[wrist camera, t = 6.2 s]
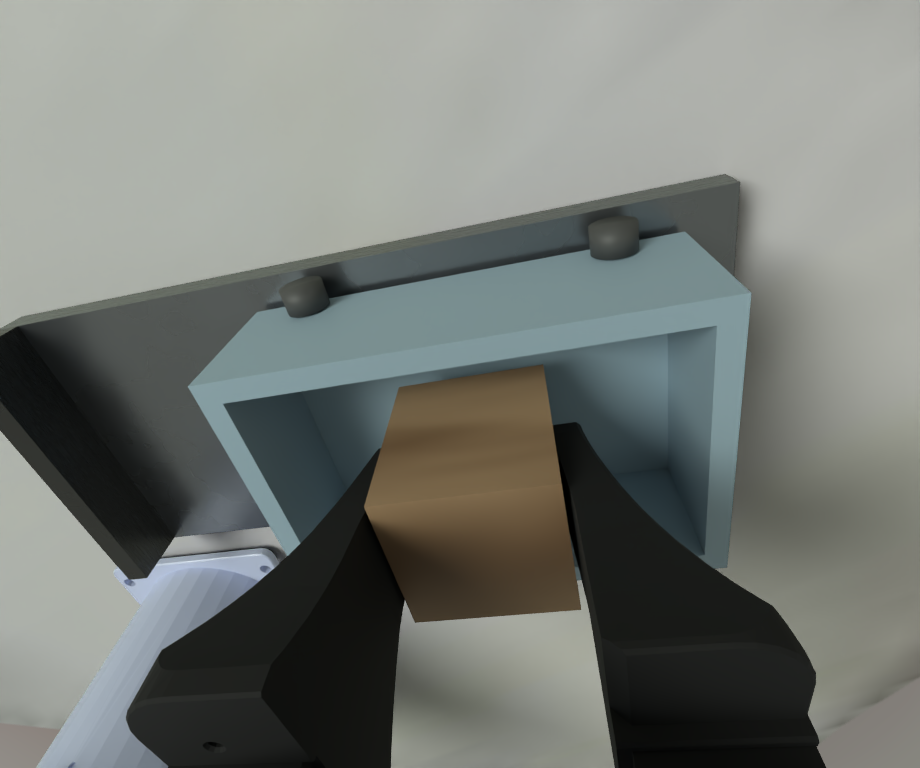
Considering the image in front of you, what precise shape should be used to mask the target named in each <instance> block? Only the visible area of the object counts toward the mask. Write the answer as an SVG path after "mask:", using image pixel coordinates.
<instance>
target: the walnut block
mask: <svg viewBox="0 0 920 768" xmlns="http://www.w3.org/2000/svg"><path fill="white" fill-rule="evenodd" d="M364 508H365V511H366V513H367V515H368V517H369V520H370V522H371V524H372V526H373V529H374V531H375V533H376V535H377V538H378V540H379V542H380V544H381V547H382V549H383V551H384V553H385V556H386V558H387V560H388V562H389V565H390V567H391V569H392V571H393V574H394V576H395V578H396V580H397V583H398V585H399V587H400V589H401V592H402V594H403V596H404V599H405V601H406V603H407V605H408V608H409V610H410V612H411V614H412V617H413V619H414V621H415V623H416V622H429V621H442V620H455V619H468V618H480V617H493V616H506V615H519V614H532V613H545V612H558V611H570V610H581V605H580V598H579V592H578V585H577V579H576V572H575V566H574V560H573V553H572V547H571V540H570V534H569V527H568V521H567V515H566V508H565V502H564V495H563V489H562V482H561V476H560V470H559V463H558V457H557V450H556V444H555V437H554V431H553V424H552V418H551V411H550V405H549V398H548V392H547V385H546V379H545V373H544V366H543V364H542V365H536V366H530V367H523V368H517V369H511V370H504V371H498V372H492V373H485V374H479V375H473V376H466V377H460V378H453V379H447V380H441V381H434V382H428V383H422V384H415V385H409V386H403V387H399V389H398V392H397V396H396V399H395V402H394V406H393V409H392V413H391V416H390V420H389V423H388V426H387V430H386V433H385V437H384V440H383V443H382V447H381V450H380V454H379V457H378V461H377V464H376V467H375V471H374V474H373V478H372V481H371V485H370V488H369V491H368V495H367V498H366V502H365V505H364Z"/></svg>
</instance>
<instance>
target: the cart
mask: <svg viewBox="0 0 920 768" xmlns="http://www.w3.org/2000/svg"><path fill="white" fill-rule="evenodd" d="M588 232H589V244H590V249H589V250H584V251H579V252H573V253H568V254H563V255H557V256H552V257H547V258H542V259H536V260H531V261H526V262H520V263H515V264H510V265H504V266H499V267H494V268H488V269H483V270H478V271H472V272H467V273H462V274H456V275H451V276H446V277H440V278H435V279H430V280H425V281H419V282H414V283H409V284H403V285H398V286H393V287H387V288H382V289H377V290H371V291H366V292H361V293H355V294H350V295H345V296H339V297H334V298H329V297H328V295H327V292H326V289H325V287H324V284H323V281H322V279H321V277H319V276H309V277H304V278H300V279H297V280H294V281H292V282H289V283H287V284H286V285H284V286H282V287H281V288H280V289H279V294H280V296H281V298H282V301H283V303H284V305H285V307H281V308H276V309H270V310H265V311H260V312H257V313H256V314H255V315H254V316H253V317H252V318H251V319H250V320H249V321H248V322H247V323H246V324H245V325H244V326H243V328H242V329H241V330H240V331H239V332H238V333H237V334H236V335H235V336H234V337H233V338H232V339H231V340H230V342H229V343H228V344H227V345H226V346H225V347H224V348H223V349H222V350H221V351H220V352H219V353H218V354H217V356H216V357H215V358H214V359H213V360H212V361H211V362H210V363H209V364H208V365H207V366H206V367H205V368H204V370H203V371H202V372H201V373H200V374H199V375H198V376H197V377H196V378H195V379H194V380H193V381H192V382H191V384H190V385H189V386H188V388H189V390H190V391H191V393H192V395H193V396H194V398H195V400H196V402H197V403H198V405H199V407H200V408H201V410H202V412H203V413H204V415H205V417H206V419H207V420H208V422H209V424H210V425H211V427H212V429H213V430H214V432H215V434H216V436H217V437H218V439H219V441H220V442H221V444H222V446H223V447H224V449H225V451H226V453H227V454H228V456H229V458H230V459H231V461H232V463H233V464H234V466H235V468H236V470H237V471H238V473H239V475H240V476H241V478H242V480H243V481H244V483H245V485H246V487H247V488H248V490H249V492H250V493H251V495H252V497H253V498H254V500H255V502H256V504H257V505H258V507H259V509H260V510H261V512H262V514H263V515H264V517H265V519H266V521H267V522H268V524H269V526H270V527H271V529H272V531H273V532H274V534H275V536H276V538H277V539H278V541H279V543H280V544H281V546H282V548H283V549H284V551H285V553H286V555H287V556H288V555H289V554H290V553H291V552H292V551H293V550H294V549H295V548H296V547H297V546H298V545H300V543H301V542H302V541H303V540H304V539H305V538H306V537H307V536H308V535H309V534H310V533H311V532H312V531H313V530H314V529H315V528H316V526H317V525H318V524H319V523H320V522H321V521H322V519H323V518H324V517H325V516H326V515H327V514H328V512H329V511H330V510H331V509H332V508H333V507H334V506H335V504H336V503H337V502H338V501H339V499H340V498H341V497H342V496H343V494H344V493H345V492H346V490H347V489H348V488H349V487H350V485H351V484H352V483H353V481H354V480H355V479H356V477H357V476H358V475H359V474H360V472H361V471H362V470H363V468H364V467H365V466H366V464H367V463H368V462H369V460H370V459H371V458H372V456H373V455H374V454H375V452H376V451H377V450H378V449H379V448H381V447H382V443H383V440H384V437H385V433H386V430H387V426H388V423H389V420H390V416H391V413H392V409H393V406H394V402H395V399H396V396H397V392H398V389H399V387H403V386H409V385H415V384H422V383H428V382H434V381H441V380H447V379H453V378H460V377H466V376H473V375H479V374H485V373H492V372H498V371H504V370H511V369H517V368H523V367H530V366H536V365H542V364H543V366H544V373H545V379H546V385H547V392H548V398H549V405H550V411H551V418H552V424H553V425H557V424H564V423H572V422H577V423H578V424H580V425H581V428H582V430H583V432H584V434H585V436H586V437H587V439H588V441H589V443H590V444H591V446H592V447H593V449H594V450H595V452H596V453H597V455H598V456H599V458H600V459H601V461H602V462H603V463H604V465H605V466H606V467H607V468H608V470H609V471H610V472H611V474H612V475H613V476H614V477H615V479H616V480H617V481H618V482H619V483H620V485H621V486H622V487H623V488H624V489H625V490H626V492H627V493H628V494H629V495H630V496H631V497H632V498H633V499H634V500H635V501H636V502H637V504H638V505H639V506H640V507H641V508H642V509H643V510H644V511H645V512H646V513H647V514H648V515H649V516H650V517H652V518H653V519H654V520H655V521H656V522H657V523H658V524H659V525H660V526H661V527H662V528H663V529H665V530H666V531H667V532H668V533H669V534H670V535H671V536H672V537H674V538H675V539H676V540H677V541H678V542H680V543H681V544H682V545H684V546H685V547H686V548H687V549H689V550H690V551H691V552H693V553H694V554H695V555H696V556H698V557H699V558H700V559H702V560H703V561H704V562H705V563H707V564H708V565H709V566H711V567H712V568H714V569H715V568H726V567H727V563H728V552H729V540H730V529H731V518H732V507H733V495H734V484H735V473H736V461H737V450H738V439H739V427H740V416H741V405H742V394H743V382H744V371H745V360H746V348H747V337H748V326H749V314H750V303H751V292H750V291H749V290H748V289H747V288H746V287H745V286H743V285H742V284H741V283H740V282H739V281H738V280H737V279H736V278H735V277H734V276H733V275H732V274H730V273H729V272H728V271H727V270H726V269H725V268H724V267H723V266H722V265H721V264H720V263H719V262H717V261H716V260H715V259H714V258H713V257H712V256H711V255H710V254H709V253H708V252H707V251H706V250H704V249H703V248H702V247H701V246H700V245H699V244H698V243H697V242H696V241H695V240H694V239H693V238H691V237H690V236H689V235H688V234H687V233H686V232H680V233H674V234H669V235H664V236H658V237H653V238H648V239H643V240H639V221H638V219H637V218H636V217H632V216H614V217H608V218H604V219H600V220H597V221H595V222H593V223H591V224H590V225H589V226H588ZM569 534H570V533H569ZM570 540H571V537H570ZM571 547H572V553H573V560H574V566H575V572H576V579H577V580H582V579H581V575H580V571H579V568H578V564H577V560H576V556H575V552H574V548H573V545H572V541H571Z"/></svg>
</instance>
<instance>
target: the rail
mask: <svg viewBox="0 0 920 768" xmlns="http://www.w3.org/2000/svg"><path fill="white" fill-rule="evenodd" d="M739 191H740V182H739V181H737V180H735V179H734V178H732V177H730V176H728V175H726V174H723V175H719V176H714V177H709V178H704V179H699V180H694V181H689V182H684V183H679V184H674V185H669V186H664V187H659V188H654V189H650V190H645V191H640V192H635V193H630V194H625V195H620V196H615V197H610V198H605V199H600V200H595V201H590V202H585V203H581V204H576V205H571V206H566V207H561V208H556V209H551V210H546V211H541V212H536V213H531V214H526V215H521V216H516V217H512V218H507V219H502V220H497V221H492V222H487V223H482V224H477V225H472V226H467V227H462V228H457V229H452V230H447V231H443V232H438V233H433V234H428V235H423V236H418V237H413V238H408V239H403V240H398V241H393V242H388V243H383V244H378V245H374V246H369V247H364V248H359V249H354V250H349V251H344V252H339V253H334V254H329V255H324V256H319V257H314V258H309V259H305V260H300V261H295V262H290V263H285V264H280V265H275V266H270V267H265V268H260V269H255V270H250V271H245V272H240V273H236V274H231V275H226V276H221V277H216V278H211V279H206V280H201V281H196V282H191V283H186V284H181V285H176V286H171V287H167V288H162V289H157V290H152V291H147V292H142V293H137V294H132V295H127V296H122V297H117V298H112V299H107V300H102V301H98V302H93V303H88V304H83V305H78V306H73V307H68V308H63V309H58V310H53V311H48V312H43V313H38V314H33V315H29V316H24V317H20V318H19V319H17V320H15V321H13V322H11V323H9V324H8V325H6V326H4V327H2V328H0V431H1V432H2V433H3V434H4V435H5V436H6V438H7V439H8V440H9V441H10V442H11V443H12V445H13V446H14V447H15V448H16V449H17V450H18V452H19V453H20V454H21V455H22V456H23V457H24V458H25V460H26V461H27V462H28V463H29V464H30V465H31V467H32V468H33V469H34V470H35V471H36V472H37V474H38V475H39V476H40V477H41V478H42V479H43V481H44V482H45V483H46V484H47V485H48V486H49V487H50V489H51V490H52V491H53V492H54V493H55V494H56V496H57V497H58V498H59V499H60V500H61V501H62V503H63V504H64V505H65V506H66V507H67V508H68V510H69V511H70V512H71V513H72V514H73V515H74V516H75V518H76V519H77V520H78V521H79V522H80V523H81V525H82V526H83V527H84V528H85V529H86V530H87V532H88V533H89V534H90V535H91V536H92V537H93V539H94V540H95V541H96V542H97V543H98V544H99V545H100V547H101V548H102V549H103V550H104V551H105V552H106V554H107V555H108V556H109V557H110V558H111V559H112V561H113V562H114V563H115V564H116V565H117V566H118V567H119V569H120V570H121V571H122V572H123V573H124V574H125V576H126V577H127V578H128V579H129V580H133V579H143V578H148V576H149V575H150V573H151V572H152V570H153V569H154V567H155V566H156V564H157V563H158V561H159V560H160V558H161V557H162V555H163V554H164V552H165V551H166V549H167V548H168V546H169V545H170V543H171V542H172V540H173V539H174V537H182V536H190V535H199V534H208V533H217V532H226V531H235V530H243V529H252V528H261V527H270V526H269V524H268V522H267V521H266V519H265V517H264V515H263V514H262V512H261V510H260V509H259V507H258V505H257V504H256V502H255V500H254V498H253V497H252V495H251V493H250V492H249V490H248V488H247V487H246V485H245V483H244V481H243V480H242V478H241V476H240V475H239V473H238V471H237V470H236V468H235V466H234V464H233V463H232V461H231V459H230V458H229V456H228V454H227V453H226V451H225V449H224V447H223V446H222V444H221V442H220V441H219V439H218V437H217V436H216V434H215V432H214V430H213V429H212V427H211V425H210V424H209V422H208V420H207V419H206V417H205V415H204V413H203V412H202V410H201V408H200V407H199V405H198V403H197V402H196V400H195V398H194V396H193V395H192V393H191V391H190V390H189V388H188V386H189V385H190V384H191V382H192V381H193V380H194V379H195V378H196V377H197V376H198V375H199V374H200V373H201V372H202V371H203V370H204V368H205V367H206V366H207V365H208V364H209V363H210V362H211V361H212V360H213V359H214V358H215V357H216V356H217V354H218V353H219V352H220V351H221V350H222V349H223V348H224V347H225V346H226V345H227V344H228V343H229V342H230V340H231V339H232V338H233V337H234V336H235V335H236V334H237V333H238V332H239V331H240V330H241V329H242V328H243V326H244V325H245V324H246V323H247V322H248V321H249V320H250V319H251V318H252V317H253V316H254V315H255V314H256V313H257V312H260V311H265V310H270V309H276V308H281V307H285V305H284V303H283V301H282V298H281V296H280V294H279V289H280V288H281V287H282V286H284V285H286V284H287V283H289V282H292V281H294V280H297V279H300V278H304V277H309V276H319V277H321V279H322V281H323V284H324V287H325V289H326V292H327V295H328V297H329V298H334V297H339V296H345V295H350V294H355V293H361V292H366V291H371V290H377V289H382V288H387V287H393V286H398V285H403V284H409V283H414V282H419V281H425V280H430V279H435V278H440V277H446V276H451V275H456V274H462V273H467V272H472V271H478V270H483V269H488V268H494V267H499V266H504V265H510V264H515V263H520V262H526V261H531V260H536V259H542V258H547V257H552V256H557V255H563V254H568V253H573V252H579V251H584V250H589V249H590V244H589V232H588V226H589V225H590V224H591V223H593V222H595V221H597V220H600V219H604V218H608V217H614V216H632V217H636V218H637V219H638V221H639V240H643V239H648V238H653V237H658V236H664V235H669V234H674V233H680V232H686V233H687V234H688V235H689V236H690V237H691V238H693V239H694V240H695V241H696V242H697V243H698V244H699V245H700V246H701V247H702V248H703V249H704V250H706V251H707V252H708V253H709V254H710V255H711V256H712V257H713V258H714V259H715V260H716V261H717V262H719V263H720V264H721V265H722V266H723V267H724V268H725V269H726V270H727V271H728V272H729V273H730V274H732V275H733V276H734V265H735V250H736V235H737V220H738V206H739Z"/></svg>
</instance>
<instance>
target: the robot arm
mask: <svg viewBox="0 0 920 768" xmlns="http://www.w3.org/2000/svg"><path fill="white" fill-rule="evenodd" d="M553 431H554V437H555V444H556V450H557V457H558V463H559V470H560V476H561V482H562V489H563V495H564V502H565V508H566V515H567V521H568V527H569V533H570V537H571V541H572V545H573V548H574V552H575V556H576V560H577V564H578V568H579V571H580V575H581V579H582V583H583V587H584V591H585V595H586V599H587V603H588V608H589V613H590V618H591V624H592V630H593V636H594V642H595V648H596V654H597V661H598V667H599V673H600V679H601V685H602V691H603V697H604V703H605V709H606V715H607V722H608V728H609V734H610V740H611V746H612V752H613V758H614V765H615V768H826V766H825V764H824V762H823V760H822V758H821V756H820V753H819V751H818V749H817V747H816V746H818V744H819V739H818V735H817V733H816V731H815V729H814V727H813V725H812V723H811V721H810V719H809V716H808V710H809V706H810V703H811V699H812V696H813V692H814V688H815V685H816V672H815V670H814V669H813V666H812V664H811V662H810V660H809V658H808V656H807V654H806V652H805V650H804V649H803V647H802V646H801V644H800V643H799V641H798V640H797V638H796V637H795V635H794V634H793V632H792V631H791V629H790V628H789V627H788V625H787V624H786V623H785V621H784V620H783V619H782V617H781V616H780V615H779V613H778V612H777V611H776V609H775V608H774V607H773V606H772V605H770V604H768V603H767V602H765V601H763V600H762V599H760V598H758V597H757V596H755V595H753V594H752V593H750V592H749V591H747V590H745V589H744V588H742V587H740V586H739V585H737V584H736V583H734V582H733V581H731V580H730V579H728V578H727V577H725V576H724V575H722V574H721V573H719V572H718V571H717V570H715V569H714V568H712V567H711V566H709V565H708V564H707V563H705V562H704V561H703V560H702V559H700V558H699V557H698V556H696V555H695V554H694V553H693V552H691V551H690V550H689V549H687V548H686V547H685V546H684V545H682V544H681V543H680V542H678V541H677V540H676V539H675V538H674V537H672V536H671V535H670V534H669V533H668V532H667V531H666V530H665V529H663V528H662V527H661V526H660V525H659V524H658V523H657V522H656V521H655V520H654V519H653V518H652V517H650V516H649V515H648V514H647V513H646V512H645V511H644V510H643V509H642V508H641V507H640V506H639V505H638V504H637V502H636V501H635V500H634V499H633V498H632V497H631V496H630V495H629V494H628V493H627V492H626V490H625V489H624V488H623V487H622V486H621V485H620V483H619V482H618V481H617V480H616V479H615V477H614V476H613V475H612V474H611V472H610V471H609V470H608V468H607V467H606V466H605V465H604V463H603V462H602V461H601V459H600V458H599V456H598V455H597V453H596V452H595V450H594V449H593V447H592V446H591V444H590V443H589V441H588V439H587V437H586V436H585V434H584V432H583V430H582V428H581V425H580V424H578V423H577V422H572V423H564V424H557V425H553ZM380 450H381V448H379V449H378V450H377V451H376V452H375V454H374V455H373V456H372V458H371V459H370V460H369V462H368V463H367V464H366V466H365V467H364V468H363V470H362V471H361V472H360V474H359V475H358V476H357V477H356V479H355V480H354V481H353V483H352V484H351V485H350V487H349V488H348V489H347V490H346V492H345V493H344V494H343V496H342V497H341V498H340V499H339V501H338V502H337V503H336V504H335V506H334V507H333V508H332V509H331V510H330V511H329V512H328V514H327V515H326V516H325V517H324V518H323V519H322V521H321V522H320V523H319V524H318V525H317V526H316V528H315V529H314V530H313V531H312V532H311V533H310V534H309V535H308V536H307V537H306V538H305V539H304V540H303V541H302V542H301V543H300V545H298V546H297V547H296V548H295V549H294V550H293V551H292V552H291V553H290V554H289V555H288V556H287V557H286V558H285V559H284V560H283V561H282V562H281V563H279V562H278V560H277V558H276V557H275V555H274V554H273V553H272V551H270V550H268V549H265V548H257V549H248V550H238V551H229V552H219V553H210V554H200V555H191V556H182V557H172V558H163V559H160V560H159V561H158V563H157V564H156V566H155V567H154V569H153V570H152V572H151V573H150V575H149V576H148V578H143V579H133V580H129V579H128V578H127V577H126V576H125V574H124V573H123V572H122V571H121V570H120V569H119V567H118V566H117V567H116V569H115V570H114V575H115V577H116V578H117V579H118V580H119V581H120V583H121V584H122V585H123V586H124V587H125V588H126V589H127V591H128V592H129V593H130V594H131V595H132V596H133V597H134V598H135V600H136V601H137V602H138V603H139V604H140V605H141V606H140V607H139V609H138V610H137V612H136V614H135V615H134V617H133V618H132V620H131V621H130V623H129V624H128V626H127V628H126V629H125V631H124V632H123V634H122V635H121V637H120V638H119V640H118V641H117V643H116V645H115V646H114V648H113V649H112V651H111V652H110V654H109V655H108V657H107V659H106V660H105V662H104V663H103V665H102V666H101V668H100V669H99V671H98V672H97V674H96V676H95V677H94V679H93V680H92V682H91V683H90V685H89V686H88V688H87V690H86V691H85V693H84V694H83V696H82V697H81V699H80V700H79V702H78V704H77V705H76V707H75V708H74V710H73V711H72V713H71V714H70V716H69V717H68V719H67V721H66V722H65V724H64V725H63V727H62V728H61V730H60V731H59V733H58V735H57V736H56V738H55V739H54V741H53V742H52V744H51V745H50V747H49V749H48V750H47V752H46V753H45V755H44V756H43V758H42V760H41V761H40V762H39V764H38V766H37V767H36V768H391V744H392V725H393V705H394V691H395V677H396V664H397V653H398V642H399V632H400V624H401V617H402V611H403V606H404V601H405V599H404V596H403V594H402V592H401V589H400V587H399V585H398V583H397V580H396V578H395V576H394V574H393V571H392V569H391V567H390V565H389V562H388V560H387V558H386V556H385V553H384V551H383V549H382V547H381V544H380V542H379V540H378V538H377V535H376V533H375V531H374V529H373V526H372V524H371V522H370V520H369V517H368V515H367V513H366V511H365V508H364V505H365V502H366V498H367V495H368V491H369V488H370V485H371V481H372V478H373V474H374V471H375V467H376V464H377V461H378V457H379V454H380Z"/></svg>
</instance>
